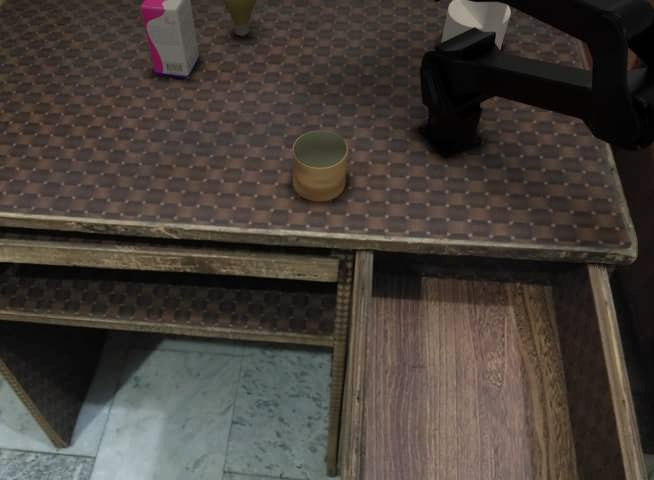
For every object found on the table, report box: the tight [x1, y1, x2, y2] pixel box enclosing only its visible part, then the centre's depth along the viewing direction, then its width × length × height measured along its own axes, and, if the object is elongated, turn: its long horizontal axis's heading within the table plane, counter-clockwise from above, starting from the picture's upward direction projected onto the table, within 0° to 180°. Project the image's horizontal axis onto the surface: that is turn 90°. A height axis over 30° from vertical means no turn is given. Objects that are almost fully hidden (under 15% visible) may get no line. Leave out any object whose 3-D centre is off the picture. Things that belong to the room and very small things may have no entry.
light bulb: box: [222, 0, 257, 37], centre depth 101 cm, size 6×6×10 cm
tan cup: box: [291, 129, 349, 202], centre depth 82 cm, size 7×7×6 cm
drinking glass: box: [440, 0, 512, 50], centre depth 94 cm, size 9×9×12 cm
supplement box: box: [139, 0, 200, 80], centre depth 96 cm, size 6×6×12 cm
